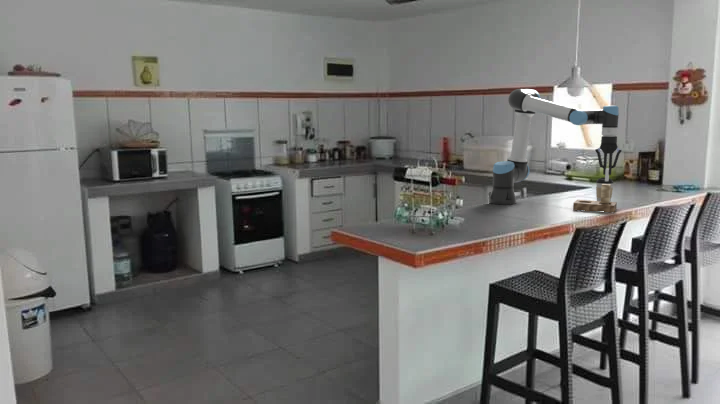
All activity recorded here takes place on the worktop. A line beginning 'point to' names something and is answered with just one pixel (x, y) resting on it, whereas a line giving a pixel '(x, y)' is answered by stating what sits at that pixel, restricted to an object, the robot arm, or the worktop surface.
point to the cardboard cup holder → (594, 206)
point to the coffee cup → (599, 186)
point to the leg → (605, 193)
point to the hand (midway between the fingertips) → (606, 180)
